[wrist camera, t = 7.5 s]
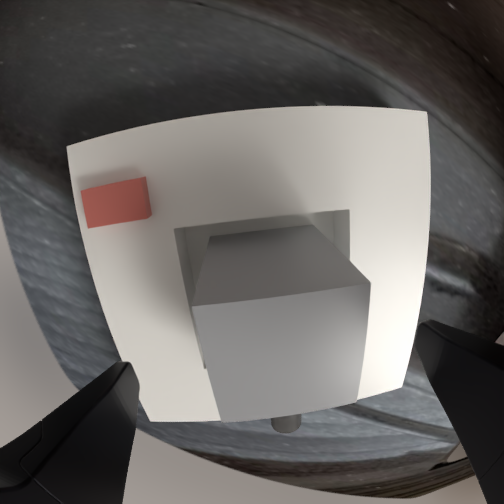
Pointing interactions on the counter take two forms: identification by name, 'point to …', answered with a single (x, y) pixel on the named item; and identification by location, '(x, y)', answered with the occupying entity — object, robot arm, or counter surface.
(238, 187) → the socket plate
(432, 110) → the counter surface
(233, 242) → the plug
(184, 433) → the counter surface
